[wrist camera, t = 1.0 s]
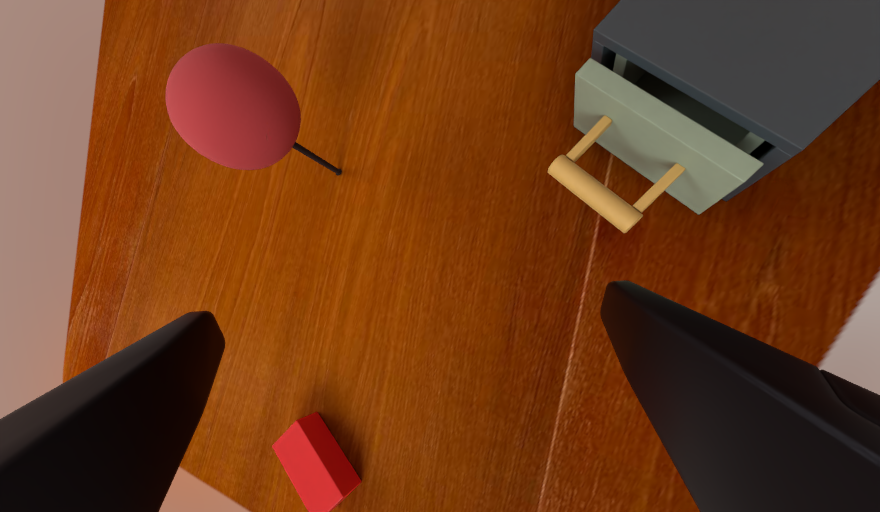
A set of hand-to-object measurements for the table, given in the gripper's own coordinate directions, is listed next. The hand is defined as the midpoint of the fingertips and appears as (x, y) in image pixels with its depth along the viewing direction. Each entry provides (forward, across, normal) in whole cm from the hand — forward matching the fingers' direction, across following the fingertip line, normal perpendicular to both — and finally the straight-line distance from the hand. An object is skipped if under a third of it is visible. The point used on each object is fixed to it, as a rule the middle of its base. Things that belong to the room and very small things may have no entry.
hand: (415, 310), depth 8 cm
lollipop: (+28, +8, +5) cm, 30 cm away
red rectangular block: (+12, +9, +25) cm, 29 cm away
